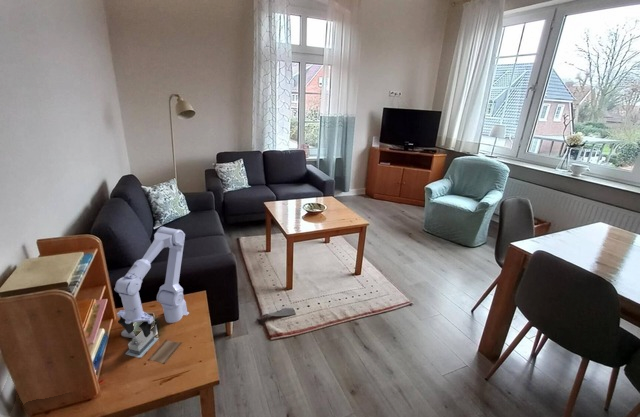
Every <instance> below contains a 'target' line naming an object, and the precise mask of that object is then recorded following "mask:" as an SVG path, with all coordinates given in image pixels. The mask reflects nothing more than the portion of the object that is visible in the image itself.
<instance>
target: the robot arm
mask: <svg viewBox="0 0 640 417" xmlns="http://www.w3.org/2000/svg"><path fill="white" fill-rule="evenodd" d="M153 236H154V237H153V238H154V239H153V241H152V243H151V244H150V246H149V247H148V248H147V250H146V252H145V254H143V257H142V258H141V259H136V261H134V263H133V264H132V266H131V267H130V268H129V270H128V271H127V273H126V274H125V275H124V276H122V277H120V278H119V279H117V281H116V282H115V287H114V288H113V289H114V291H115V293H118V295H119V297H120V298H121V303H122V306H123V310H121V309H120V310H119V311H118V312H117V313H116V315H117V316H116V317H117V318H119V320H118V321H117V323H118V324H119V325H121V326H122V327H123V328H124V330H125V329H126V331H127V332H128V333H129V334H130V333H131V332H132V331H133V330H134V326H133V322H142V321H143V323H142V324H140V325H139V327H140V328H141V329H142V331H143V333H144V336H145V337H148V336H149V335H150V331H152V330H151V329H152V327H153V326H152V323H153V321H154V316H153V315H150V314H149V313H147V312H145V311H144V309H143V305H142V300H141V297H140V292H139V291H140V290H141V287H142V283H143V280H144V278H145V276H147V274H148V272H149V271H150V269H151V268H152V264H151V263H152V262H153V261H154V260H155V258H157V256H158V255H159V254H160V252H161V251H162V250H163V249H165V248H169V251H168V257H167V265H166V272H165V280H164V284H162V285H161V286H160V287H159V290H158V292H157V294H156V301H157V302H158V303H160V305H161V306H162V310H163V315H164V321H165V322H166V323H168V324H172V323H177V322H179V321H180V320H181V319H183V316H188V315H189V314H190V312H189V311H188V307H187V302H186V300H185V298H184V297H185V296H184V288H183V287H182V286H181V285H180V283H179V282H180V276H181V275H180V274H181V267H182V260H183V252H184V246H185V239H186V238H185V237H186V233H185V232H184V231H183V230H182V229H178V228H177V229H175V228H171V227H166V226H160V227H159V228H157V230H156V232H155V233H154V234H153ZM151 326H152V327H151Z"/></svg>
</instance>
